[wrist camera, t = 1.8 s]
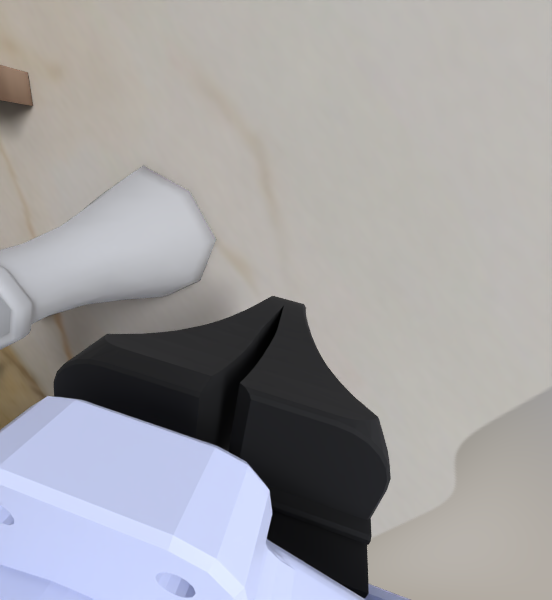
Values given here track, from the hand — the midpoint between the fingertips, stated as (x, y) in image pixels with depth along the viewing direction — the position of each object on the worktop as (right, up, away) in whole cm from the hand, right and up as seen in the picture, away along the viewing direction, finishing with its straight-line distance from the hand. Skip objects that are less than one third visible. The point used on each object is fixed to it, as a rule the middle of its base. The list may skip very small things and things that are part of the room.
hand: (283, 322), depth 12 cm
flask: (-7, +5, +7) cm, 11 cm away
